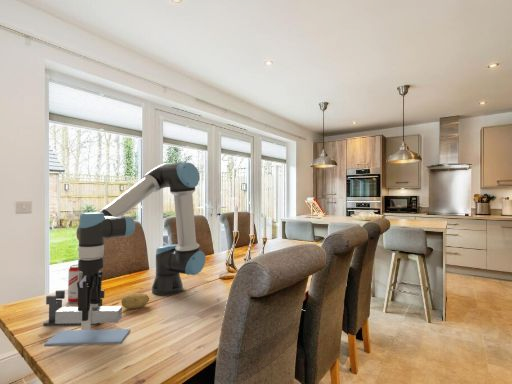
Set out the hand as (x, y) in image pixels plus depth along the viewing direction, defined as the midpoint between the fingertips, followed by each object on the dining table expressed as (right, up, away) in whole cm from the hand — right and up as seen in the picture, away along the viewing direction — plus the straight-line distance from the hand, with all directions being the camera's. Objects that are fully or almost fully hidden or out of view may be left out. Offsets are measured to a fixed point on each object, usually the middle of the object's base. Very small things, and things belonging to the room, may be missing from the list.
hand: (89, 325), depth 100 cm
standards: (-12, -4, +12) cm, 18 cm away
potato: (+5, -5, +27) cm, 27 cm away
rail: (0, +2, 0) cm, 2 cm away
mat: (0, -4, 0) cm, 4 cm away
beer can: (-25, -4, +33) cm, 42 cm away
